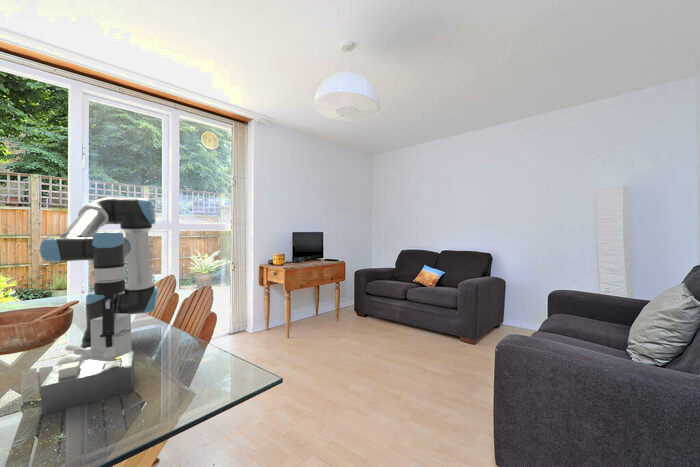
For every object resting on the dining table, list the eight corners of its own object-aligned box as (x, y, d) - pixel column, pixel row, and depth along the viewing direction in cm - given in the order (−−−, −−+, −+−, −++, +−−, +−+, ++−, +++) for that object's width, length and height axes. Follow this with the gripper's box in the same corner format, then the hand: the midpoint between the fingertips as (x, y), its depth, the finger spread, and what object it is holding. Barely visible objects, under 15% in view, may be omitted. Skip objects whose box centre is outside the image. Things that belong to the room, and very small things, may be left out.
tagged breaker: (105, 379, 94) (105, 364, 94) (121, 375, 96) (121, 360, 96) (104, 385, 91) (103, 369, 91) (120, 381, 93) (119, 365, 93)
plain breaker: (62, 380, 88) (61, 364, 88) (80, 377, 91) (79, 361, 90) (59, 387, 85) (58, 370, 85) (77, 382, 87) (76, 366, 87)
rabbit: (101, 369, 106) (100, 337, 106) (84, 383, 97) (82, 347, 97) (62, 373, 104) (61, 339, 104) (40, 387, 95) (39, 351, 94)
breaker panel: (56, 391, 93) (54, 364, 92) (134, 373, 104) (133, 349, 104) (41, 414, 81) (40, 384, 81) (131, 391, 92) (131, 364, 92)
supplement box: (110, 362, 89) (108, 320, 88) (90, 360, 90) (89, 319, 90) (132, 351, 96) (131, 313, 96) (114, 350, 98) (113, 312, 97)
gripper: (99, 276, 100) (101, 341, 100) (87, 288, 81) (89, 367, 82) (127, 274, 104) (129, 336, 105) (121, 285, 85) (123, 360, 86)
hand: (112, 350), depth 93 cm, fingers closed on supplement box, 10 cm apart
